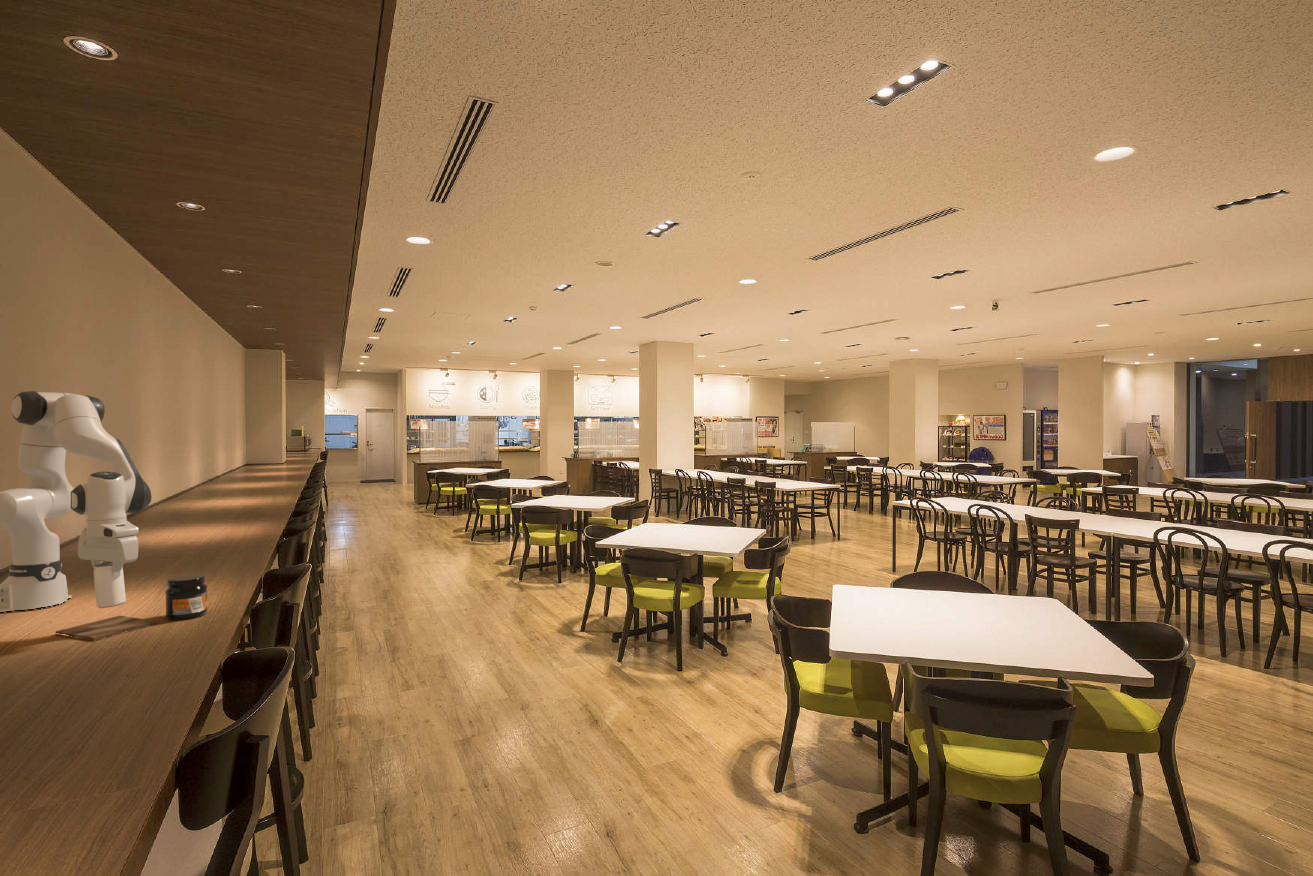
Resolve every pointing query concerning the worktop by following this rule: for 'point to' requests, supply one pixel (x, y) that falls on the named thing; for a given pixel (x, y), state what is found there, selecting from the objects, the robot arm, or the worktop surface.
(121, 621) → the walnut board
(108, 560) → the robot arm
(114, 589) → the can
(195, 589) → the supplement container
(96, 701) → the worktop surface
